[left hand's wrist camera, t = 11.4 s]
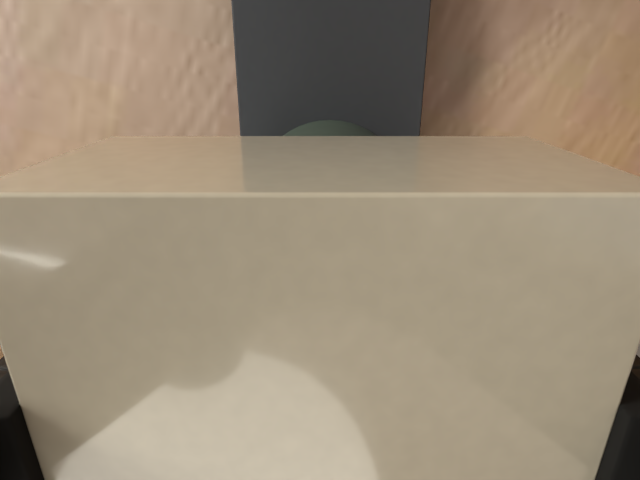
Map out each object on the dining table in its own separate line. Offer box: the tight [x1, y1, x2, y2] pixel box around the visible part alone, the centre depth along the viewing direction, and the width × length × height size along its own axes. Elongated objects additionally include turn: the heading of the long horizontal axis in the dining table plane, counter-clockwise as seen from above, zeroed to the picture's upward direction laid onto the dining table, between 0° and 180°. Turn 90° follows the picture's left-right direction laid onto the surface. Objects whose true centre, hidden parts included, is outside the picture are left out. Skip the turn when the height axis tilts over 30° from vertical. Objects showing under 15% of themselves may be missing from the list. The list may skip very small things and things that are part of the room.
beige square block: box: [0, 136, 640, 480], centre depth 10 cm, size 10×10×5 cm
